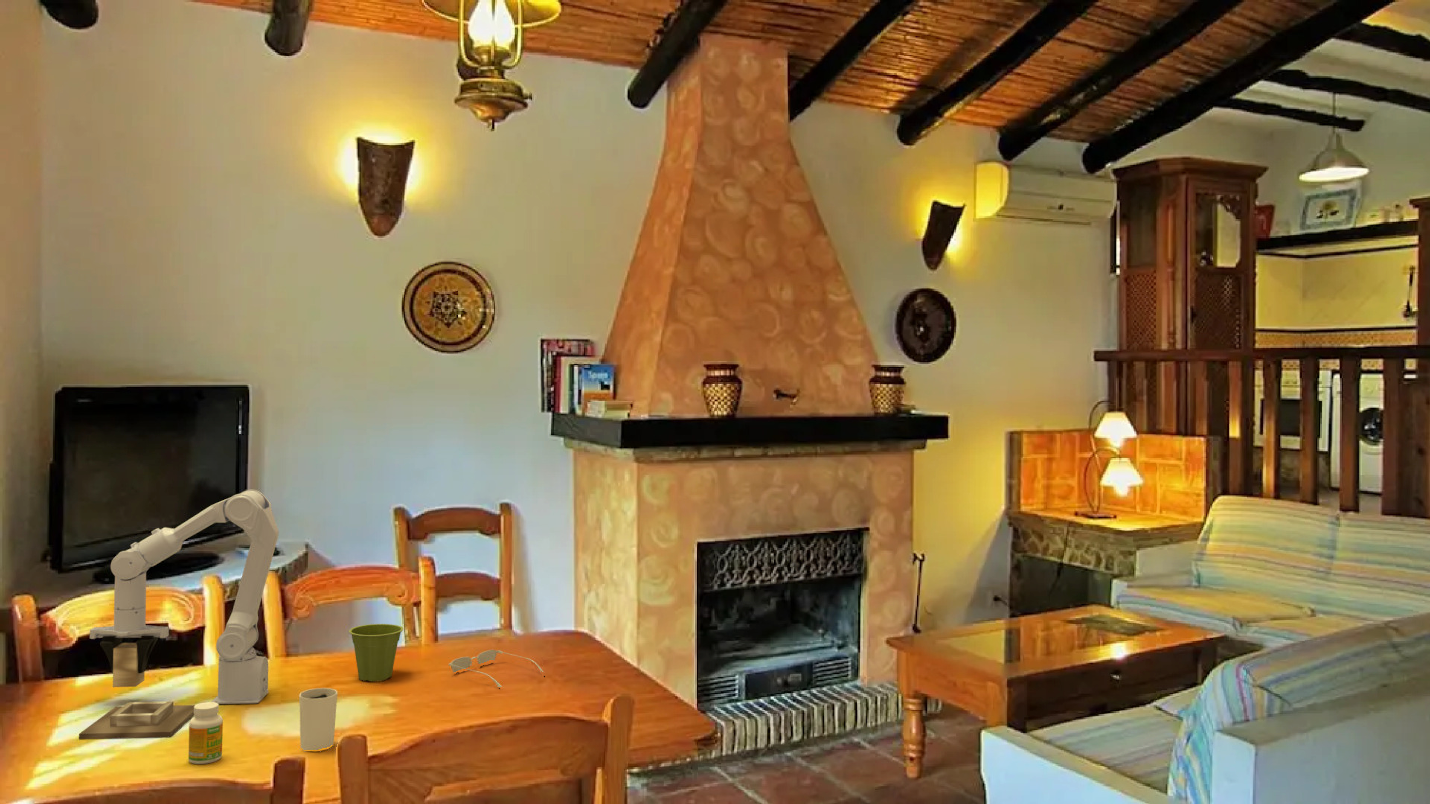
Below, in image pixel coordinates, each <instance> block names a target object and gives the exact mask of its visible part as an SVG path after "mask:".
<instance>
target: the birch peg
mask: <svg viewBox="0 0 1430 804" xmlns="http://www.w3.org/2000/svg"><path fill="white" fill-rule="evenodd" d="M144 681H145V671H144V672H143V673H138V649H137V644H136V642H122V644H120V645H118V646H117V647H115V648H113V674H112V688H132V687H133V688H134V687H138V686H139V685H141V684H142V683H143V682H144Z"/></svg>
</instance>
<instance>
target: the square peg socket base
mask: <svg viewBox="0 0 1430 804" xmlns="http://www.w3.org/2000/svg"><path fill="white" fill-rule="evenodd" d="M174 702H175V701H171V700H170V701H131V702H129V701H128V702H127V703H125V704H124V705H123V706H122V705H121V706H118V705H117V706H114V707H113V708H112V709H110V710H109V711H107V712H106V713H105V714H104V715H103V716H100V717H99V718H98V719H97V720H96V721H94V722H93V723H92V724H90V725H89V726H87V727H86V728H84V729H83V730H81V732H79V733H78V740H98V739H99V740H104V739H107V740H108V739H132V738H133V739H137V738H138V739H141V738H142V739H143V738H146V739H147V738H172V737H173V736H174V735H175V734H176V732H178V731H179V730H180V729H181V728H182V727H184V725H185V724H187V722H190V720H191V719H192V718H193V717H195V715H194V706H195V705H196V704H187V705H186V704H183V705H182V704H180V705H177V704H175V705H174Z"/></svg>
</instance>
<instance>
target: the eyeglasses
mask: <svg viewBox="0 0 1430 804" xmlns="http://www.w3.org/2000/svg"><path fill="white" fill-rule="evenodd" d="M497 654H504V652H503V651H502V650H496V649H489V650H485V651H481V652H480V653H479V654H477V656H473V657H469V656H462V657H458V658H455V659H453V660H452V661H451V662H449V663H448V666H450V668H451V670H452V672H453V673H454V672H456V671H458V670H461V669H466V668H468V667H469V669H467V670H468V671H472V672H474V673H479V674H483V675H485V676H486V677H487V676H488V677H489V678H490V679H491V680H492V681H493V682H494V684H496V686H497V688H498V687H503V686H502V685H501V684H500V683H499V681H497V680H496V679H495V678H494V677H492V676H491V675H489V674H488V673H485V672H482V671H477V670H474V669H470V667H472V664H473V661H472V660H474V659H476V660H477V663H478V665H479V664H481V663H484V662H487V661H489V660H494V661H495V660H496V657H497ZM505 654H506V655H511V656H515V657H518V658H523V659H526V660H529V661H531V662H533V663H534V664H535V665H536V667H537V668H538V669H539V671H540V672H541V671H542V672H544V670H543V669H542V667H540V665H539V664H537V662H535V661H534V660H532V659H531V658H528V657H523V656H520V655H516V654H512V653H508V652H505Z"/></svg>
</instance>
